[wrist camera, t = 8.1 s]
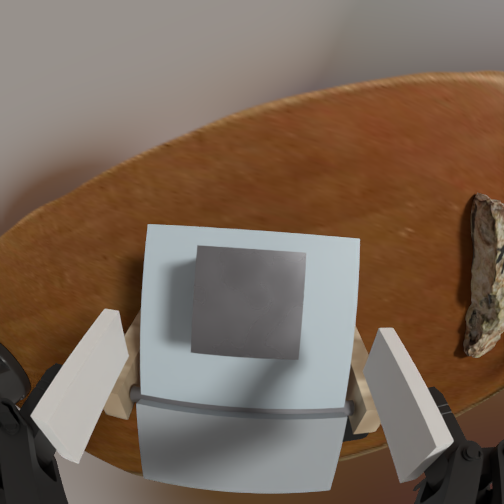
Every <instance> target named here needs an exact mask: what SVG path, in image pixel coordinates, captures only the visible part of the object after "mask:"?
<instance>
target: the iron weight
mask: <svg viewBox="0 0 504 504" xmlns="http://www.w3.org/2000/svg"><path fill="white" fill-rule="evenodd" d="M305 270H306V253H304V252H290V251H275V250H261V249H246V248H231V247H216V246H201V245H197V254H196V267H195V281H194V296H193V313H192V333H191V353H198V354H208V355H218V356H230V357H244V358H261V359H285V360H299V350H300V339H301V327H302V315H303V302H304V287H305Z"/></svg>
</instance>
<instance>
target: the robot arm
mask: <svg viewBox="0 0 504 504" xmlns="http://www.w3.org/2000/svg"><path fill="white" fill-rule="evenodd" d="M128 357H129V355H128V350H127V346H126V342H125V338H124V333H123V328H122V324H121V319H120V314H119V311H116V310H110V309H104V310H103V312H102V313H101V314H100V315H99V317H98V318H97V319H96V321H95V322H94V323H93V325H92V326H91V327H90V329H89V330H88V331H87V333H86V334H85V335H84V337H83V338H82V340H81V341H80V342H79V344H78V345H77V346H76V348H75V349H74V351H73V352H72V353H71V355H70V356H69V358H68V359H67V360H66V362H65V363H64V365H60V364H57V363H56V364H55V365H53V366H52V367H50V368H49V369H48V370H47V371H46V372H45V373H44V375H43V376H42V378H41V381H39V382H38V383H37V385H36V388H34V389H33V391H32V392H31V394H30V395H29V397H28V398H27V400H26V401H25V403H24V404H23V406H22V407H21V409H20V410H18V409H17V407H16V406H15V404H16V403H17V402H19V401H20V400H22V399H24V398H25V397H26V396H27V394H28V393H29V391H30V389H31V386H30V382H29V379H28V377H27V375H26V373H25V372H24V370H23V369H22V367H21V366H20V364H19V363H18V362H17V360H16V359H15V358H14V357H13V356H12V354H11V353H10V352H9V351H8V350H7V349H6V348H5V347H4V346H3V345H2V344H1V343H0V504H68V501H67V498H66V495H65V492H64V488H63V485H62V481H61V477H60V474H59V470H58V465H57V461H56V459H55V457H54V454H55V452H56V450H57V452H58V453H59V454H60V455H61V456H62V457H63V458H65V459H67V460H70V461H72V462H75V463H78V464H79V462H80V459H81V457H82V455H83V452H84V450H85V448H86V445H87V443H88V441H89V438H90V436H91V434H92V432H93V429H94V427H95V425H96V423H97V421H98V418H99V416H100V414H101V412H102V410H103V408H104V406H105V403H106V401H107V399H108V397H109V395H110V393H111V391H112V389H113V387H114V385H115V383H116V381H117V379H118V377H119V375H120V373H121V371H122V369H123V367H124V365H125V363H126V361H127V359H128ZM363 374H364V376H365V379H366V382H367V384H368V387H369V390H370V393H371V395H372V398H373V401H374V404H375V407H376V410H377V412H378V415H379V418H380V421H381V424H382V427H383V430H384V433H385V436H386V439H387V442H388V445H389V448H390V452H391V455H392V457H393V461H394V464H395V468H396V471H397V474H398V478H399V481H400V483H403V482H406V481H410V480H413V479H416V478H417V477H419V476H420V475H421V474H422V473H423V472H424V473H425V475H426V478H425V479H423V480H422V481H421V482H420V483H419V484H418V485H416V486H415V488H414V490H413V491H416V490H417V489H418V488H420V490H419V493H418V495H417V498H416V501H415V503H414V504H504V440H502V441H501V442H500V443H499V444H498V445H497V446H496V447H490V448H481V447H480V446H479V445H478V444H477V443H476V442H474V441H467V440H466V438H465V436H464V434H463V432H462V430H461V428H460V426H459V424H458V423H457V420H456V418H455V417H454V415H453V413H451V409H450V407H449V405H447V404H448V403H447V402H446V400H445V398H444V396H443V394H442V393H441V392H439V391H438V390H437V389H436V388H435V387H430V388H427V386H426V384H425V383H424V381H423V379H422V377H421V375H420V373H419V372H418V370H417V368H416V366H415V365H414V363H413V361H412V359H411V357H410V356H409V354H408V352H407V351H406V349H405V347H404V345H403V344H402V342H401V340H400V339H399V337H398V335H397V334H396V332H395V330H394V329H393V328H379V329H378V332H377V335H376V338H375V341H374V343H373V346H372V349H371V351H370V354H369V356H368V359H367V362H366V364H365V367H364V369H363ZM491 483H492V486H493V489H490V484H491Z"/></svg>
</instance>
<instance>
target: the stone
mask: <svg viewBox="0 0 504 504" xmlns="http://www.w3.org/2000/svg"><path fill="white" fill-rule="evenodd" d="M471 236H472V241H473V261H472V268H471V272H472V279H471V292H472V295H471V301H472V304H471V305H470V307H469V308H468V311H467V314H466V319H465V320H466V331H465V340H464V343H463V346H464V352H465V353H466V355H467V356H472V357H475V358H478V357H480V356H482V355H484V354H485V353H487V352H488V351H490V350H491V349H492V348H493V347H494V346H495V345H496V342H497V341H498V340H499V339H501V338H500V334H501V333H503V332H504V204H502V203H501V201H500V200H491V199H490V198H489V197H488V196H487V195H484V194H480V193H477V194H476V196H475V198H474V200H473V204H472V210H471ZM483 306H484V307H483Z"/></svg>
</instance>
